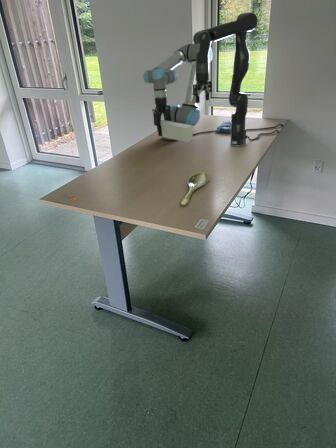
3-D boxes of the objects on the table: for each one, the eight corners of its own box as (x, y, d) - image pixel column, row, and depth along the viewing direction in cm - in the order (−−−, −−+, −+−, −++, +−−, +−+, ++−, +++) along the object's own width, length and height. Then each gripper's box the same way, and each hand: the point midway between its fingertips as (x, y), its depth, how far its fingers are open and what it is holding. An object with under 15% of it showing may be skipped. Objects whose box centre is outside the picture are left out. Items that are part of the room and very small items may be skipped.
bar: (157, 135, 217) (156, 121, 213) (163, 133, 220) (162, 119, 216) (186, 142, 200) (186, 127, 196) (192, 140, 203) (192, 125, 199)
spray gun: (242, 125, 260) (223, 125, 266) (242, 120, 258) (223, 120, 264) (234, 134, 245) (215, 133, 251) (234, 128, 242) (214, 128, 249)
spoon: (193, 209, 156) (193, 205, 155) (172, 207, 159) (171, 203, 158) (212, 175, 182) (212, 172, 181) (193, 174, 186) (193, 170, 184)
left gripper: (153, 100, 197) (157, 139, 209) (175, 94, 207) (177, 131, 219) (145, 99, 202) (149, 137, 214) (167, 93, 212) (170, 130, 224)
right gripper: (198, 73, 183) (199, 104, 191) (215, 70, 191) (215, 99, 200) (188, 73, 188) (189, 103, 196) (205, 69, 196) (205, 98, 204)
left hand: (163, 134), depth 216 cm, fingers closed on bar, 5 cm apart
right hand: (202, 101), depth 198 cm, fingers open, 8 cm apart
